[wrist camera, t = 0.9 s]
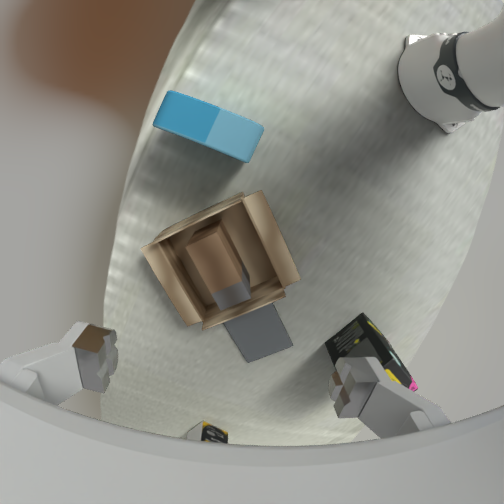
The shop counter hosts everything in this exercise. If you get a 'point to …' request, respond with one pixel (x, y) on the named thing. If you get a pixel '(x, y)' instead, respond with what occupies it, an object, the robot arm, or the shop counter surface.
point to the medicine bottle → (208, 433)
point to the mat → (259, 333)
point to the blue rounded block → (208, 125)
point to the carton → (248, 246)
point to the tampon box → (369, 349)
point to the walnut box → (220, 265)
